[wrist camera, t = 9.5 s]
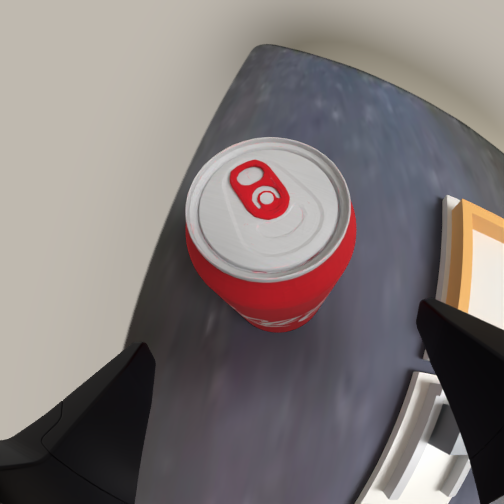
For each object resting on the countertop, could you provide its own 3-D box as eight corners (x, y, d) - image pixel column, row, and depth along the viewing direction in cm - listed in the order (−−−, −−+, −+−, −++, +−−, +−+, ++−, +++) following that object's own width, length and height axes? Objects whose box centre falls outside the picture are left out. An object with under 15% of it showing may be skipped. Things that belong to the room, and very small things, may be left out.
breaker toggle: (460, 442, 12) (488, 453, 8) (423, 440, 13) (450, 455, 9) (473, 406, 13) (504, 411, 9) (438, 402, 14) (468, 409, 10)
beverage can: (262, 349, 18) (220, 343, 7) (220, 274, 20) (146, 179, 9) (339, 303, 18) (406, 227, 7) (293, 233, 21) (294, 107, 10)
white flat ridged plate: (437, 508, 10) (452, 520, 7) (350, 508, 12) (358, 527, 9) (491, 385, 14) (512, 385, 11) (413, 371, 16) (432, 372, 13)
